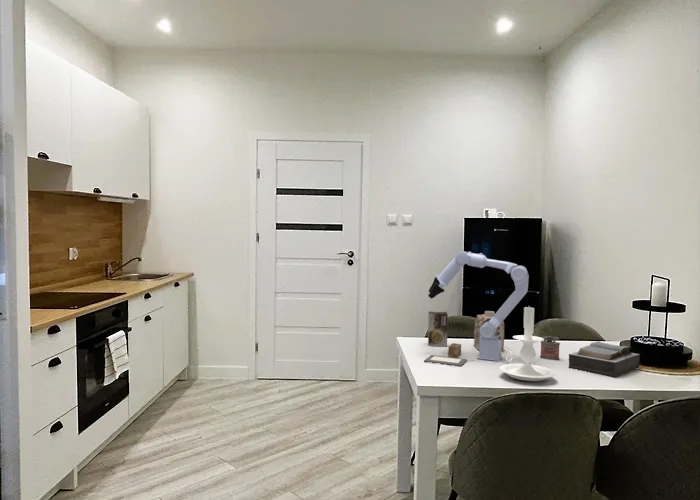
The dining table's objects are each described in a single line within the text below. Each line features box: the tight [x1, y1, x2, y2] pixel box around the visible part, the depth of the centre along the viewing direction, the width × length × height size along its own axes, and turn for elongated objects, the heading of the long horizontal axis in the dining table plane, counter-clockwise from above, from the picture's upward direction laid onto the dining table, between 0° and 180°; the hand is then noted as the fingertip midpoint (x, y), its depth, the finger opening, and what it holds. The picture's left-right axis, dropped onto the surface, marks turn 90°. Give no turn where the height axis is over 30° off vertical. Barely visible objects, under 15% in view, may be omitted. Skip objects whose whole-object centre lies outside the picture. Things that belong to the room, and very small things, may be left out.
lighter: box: [539, 335, 561, 361], centre depth 241 cm, size 8×3×10 cm, turn 62°
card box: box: [447, 342, 462, 358], centre depth 243 cm, size 4×8×5 cm, turn 156°
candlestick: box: [499, 306, 557, 382], centre depth 209 cm, size 21×25×28 cm
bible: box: [568, 340, 641, 379], centre depth 226 cm, size 23×27×10 cm
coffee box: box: [427, 311, 449, 347], centre depth 265 cm, size 9×6×16 cm
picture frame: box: [423, 354, 468, 368], centre depth 232 cm, size 16×12×1 cm
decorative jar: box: [473, 310, 505, 353], centre depth 259 cm, size 12×12×18 cm
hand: (430, 294), depth 249 cm, fingers open, 7 cm apart
